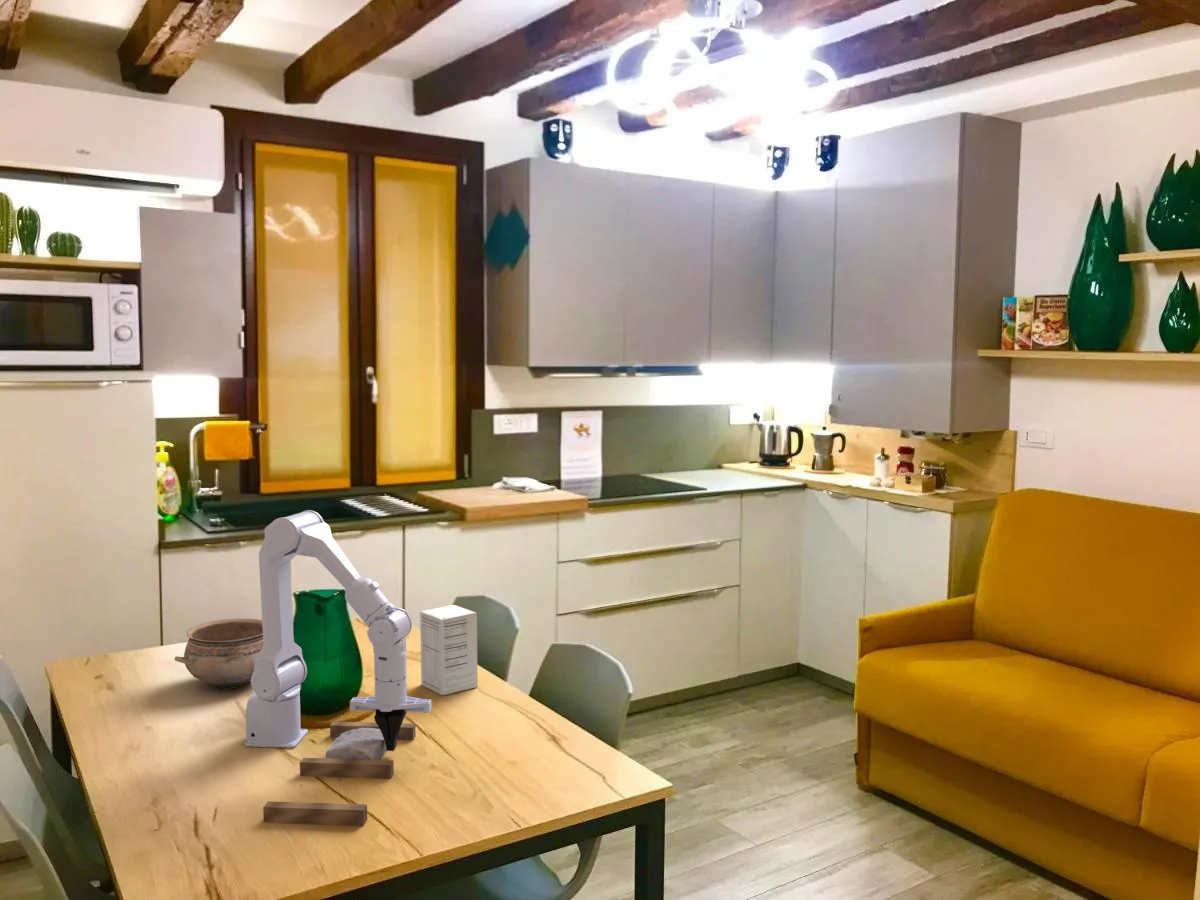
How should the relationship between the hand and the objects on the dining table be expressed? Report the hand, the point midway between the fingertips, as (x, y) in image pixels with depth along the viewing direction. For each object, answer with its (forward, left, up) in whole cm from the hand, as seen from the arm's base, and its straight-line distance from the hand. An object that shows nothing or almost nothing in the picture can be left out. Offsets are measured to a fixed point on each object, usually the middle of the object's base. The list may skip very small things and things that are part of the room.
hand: (391, 748), depth 186 cm
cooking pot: (-45, +36, -2) cm, 57 cm away
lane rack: (-6, -9, -1) cm, 10 cm away
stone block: (-6, 0, -2) cm, 7 cm away
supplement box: (+3, +38, -2) cm, 38 cm away
